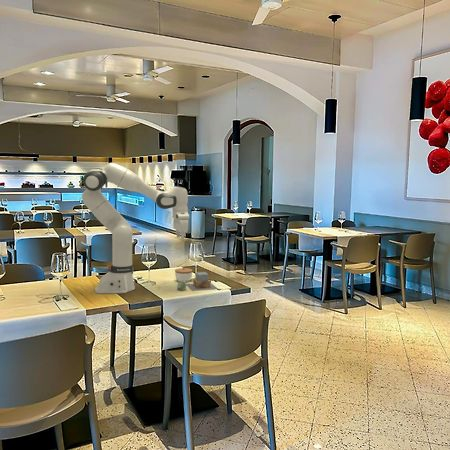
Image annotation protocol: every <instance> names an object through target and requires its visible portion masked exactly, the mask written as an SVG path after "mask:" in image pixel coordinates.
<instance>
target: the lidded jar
mask: <svg viewBox="0 0 450 450" xmlns="http://www.w3.org/2000/svg"><path fill="white" fill-rule="evenodd" d="M174 274H175V275H174V276H175V279H176V281H177V283H178V282H186V283H189V282H190V281H191V280H192V277H193V269H191V268H188V267H187V268H186V267H185V266H183V267H180V268H176V269H174Z"/></svg>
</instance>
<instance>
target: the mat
mask: <svg viewBox="0 0 450 450" xmlns="http://www.w3.org/2000/svg"><path fill="white" fill-rule="evenodd" d="M186 288H188V289H190V291H191V292H196V291H197V292H198V291H214V290H219V288H218V287H217V286H215V285H214V284H213V283H212V282H210V288H201V289H197V288H196V287H195V286H193V283H186Z"/></svg>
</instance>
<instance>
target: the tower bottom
mask: <svg viewBox="0 0 450 450" xmlns="http://www.w3.org/2000/svg"><path fill="white" fill-rule="evenodd" d="M210 283H211V280H209V279H208V281H199V282H198V281H197V280H196V279H195V278H193V283H192V284H193V286H195V287H196V288H197V289H201V288H210Z"/></svg>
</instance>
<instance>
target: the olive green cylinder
mask: <svg viewBox="0 0 450 450" xmlns="http://www.w3.org/2000/svg"><path fill="white" fill-rule="evenodd" d="M186 284H187V282H178V281H177V291H179V292H185V291H187V286H186Z"/></svg>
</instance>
